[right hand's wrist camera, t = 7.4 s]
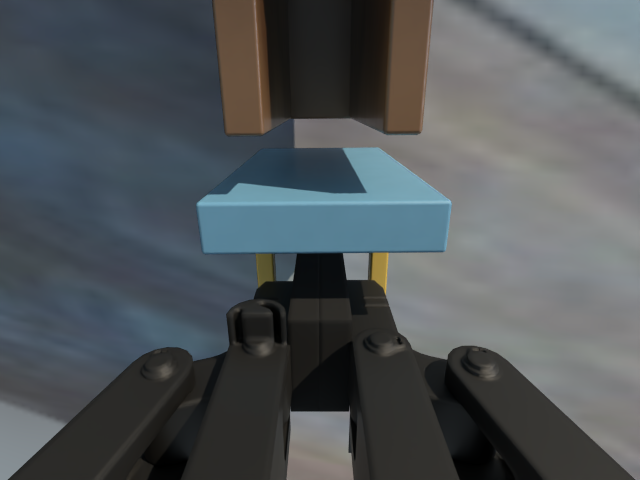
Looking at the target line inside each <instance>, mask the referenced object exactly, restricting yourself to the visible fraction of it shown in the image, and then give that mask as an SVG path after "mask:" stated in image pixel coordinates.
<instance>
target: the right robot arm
mask: <svg viewBox="0 0 640 480" xmlns="http://www.w3.org/2000/svg"><path fill="white" fill-rule="evenodd" d="M226 316H227V325H228V334H229V343H230V346H229V348H228V351H227V352H225V353H222V354H220V355H218V356H214V357H211V358H206V359H202V360H197V361H193V360H192V356H191V355H190V353H189V352H188V351H186V350H184V349H181V348H174V347H166V348H161V349H157V350H153V351H151V352H149V353H146V354H144V355H142V356H141V357H140V358H138V359H137V360H135V361H134V362H133V363H132V364H131V365H130V366H128V367H127V368H126V369H125V370H124V371H123V372H122V373H121V374H120V375H119V376H118V377H117V378H116V379H115V380H114V381H112V382H111V383H110V384H109V385H108V386H107V387H106V388H105V389H104V390H103V391H102V392H101V393H100V394H99V395H98V396H97V397H95V398H94V399H93V400H92V401H91V402H90V403H89V404H88V405H87V406H86V407H85V408H84V409H83V410H82V411H81V412H79V413H78V414H77V415H76V416H75V417H74V418H73V419H72V420H71V421H70V422H69V423H68V424H67V425H66V426H65V427H63V428H62V429H61V430H60V431H59V432H58V433H57V434H56V435H55V436H54V437H53V438H52V439H51V440H50V441H49V442H48V443H46V444H45V445H44V446H43V447H42V448H41V449H40V450H39V451H38V452H37V453H36V454H35V455H34V456H33V457H32V458H30V459H29V460H28V461H27V462H26V463H25V464H24V465H23V466H22V467H21V468H20V469H19V470H18V471H17V472H16V473H14V474H13V475H12V476H11V477H10V478H9V479H8V480H286V477H287V465H288V454H289V442H290V431H291V429H290V407H291V411H349V406H350V428H349V453H352V465H353V476H354V480H635V479H634V478H633V477H632V476H631V475H630V474H629V473H627V472H626V471H625V470H624V469H623V468H622V467H621V466H620V465H619V464H618V463H617V462H616V461H615V460H613V459H612V458H611V457H610V456H609V455H608V454H607V453H606V452H605V451H604V450H603V449H602V448H601V447H600V446H598V445H597V444H596V443H595V442H594V441H593V440H592V439H591V438H590V437H589V436H588V435H587V434H586V433H585V432H583V431H582V430H581V429H580V428H579V427H578V426H577V425H576V424H575V423H574V422H573V421H572V420H571V419H569V418H568V417H567V416H566V415H565V414H564V413H563V412H562V411H561V410H560V409H559V408H558V407H557V406H556V405H554V404H553V403H552V402H551V401H550V400H549V399H548V398H547V397H546V396H545V395H544V394H543V393H542V392H540V391H539V390H538V389H537V388H536V387H535V386H534V385H533V384H532V383H531V382H530V381H529V380H528V379H527V378H525V377H524V376H523V375H522V374H521V373H520V372H519V371H518V370H517V369H516V368H515V367H514V366H513V365H511V364H510V363H509V362H508V361H507V360H506V359H504V358H503V357H502V356H500V355H499V354H497V353H495V352H493V351H491V350H488V349H486V348H482V347H477V346H460V347H458V348H455V349H453V350H452V351H451V352H450V353H449V354H448V359H447V360H445V359H440V358H436V357H431V356H428V355H424V354H421V353H419V352H417V351H414V350H412V348H411V345H410V343H409V342H408V340H407V339H406V338H405V337H404V336H402V335H401V334H400V333H398V331H397V328H396V325H395V322H394V319H393V316H392V313H391V310H390V307H389V304H388V301H387V299H386V295H385V292H384V289H383V287H381V286H380V285H379V284H378V283H377V282H376V281H375V280H346V273H345V266H344V259H343V253H297V258H296V265H295V272H294V279H293V281H266V282H264V283H263V284H262V285H261V286H260V287H259V288H258V289H257V290H256V293H255V296H254V300H248V301H245V302H241V303H239V304H237V305H235V306H234V307H232V308H231V309H230V310H229V311H228V313H227V314H226Z"/></svg>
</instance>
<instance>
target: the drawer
mask: <svg viewBox="0 0 640 480" xmlns="http://www.w3.org/2000/svg"><path fill="white" fill-rule="evenodd" d="M433 2H434V0H212V5H213V16H214V26H215V36H216V47H217V57H218V68H219V78H220V89H221V99H222V109H223V120H224V130H225V134H226V135H227V136H262V135H264V134H266V133H267V132H269V131H271V130H272V129H274V128H276V127H277V126H279V125H281V124H282V123H284V122H286V121H287V120H289V119H326V118H352V119H354V120H356V121H358V122H360V123H362V124H365V125H367V126H369V127H371V128H373V129H375V130H377V131H380V132H382V133H384V134H386V135H418V134H420V133H421V131H422V125H423V114H424V103H425V92H426V80H427V69H428V58H429V47H430V36H431V24H432V13H433ZM451 205H452V203H451V201H450V200H449V199H448V198H446V197H445V196H443V195H442V194H441V193H439V192H438V191H437V190H435V189H434V188H433V187H431V186H430V185H429V184H427V183H426V182H424V181H423V180H422V179H420V178H419V177H418V176H416V175H415V174H414V173H412V172H411V171H410V170H408V169H407V168H405V167H404V166H403V165H401V164H400V163H399V162H397V161H396V160H395V159H393V158H392V157H391V156H389V155H388V154H387V153H385V152H384V151H382V150H381V149H380V148H267V149H261V150H260V151H258V152H257V153H256V154H255V155H254V156H252V157H251V158H250V159H249V160H248V161H246V162H245V163H244V164H243V165H242V166H240V167H239V168H238V169H237V170H236V171H234V172H233V173H232V174H231V175H230V176H229V177H227V178H226V179H225V180H224V181H223V182H221V183H220V184H219V185H218V186H217V187H215V188H214V189H213V190H212V191H211V192H209V193H208V194H207V195H206V196H205V197H203V198H202V199H201V200H200V201H199V202H197V204H196V210H197V218H198V225H199V233H200V241H201V248H202V252H203V254H256V264H257V277H258V288H259V287H260V286H261V285H262V284H263V283H264V282H266V281H276V267H275V254H290V253H369V267H368V280H375V281H376V282H377V283H378V284H379V285H380V286H381V287H383V289H384V292H385V295H386V282H387V267H388V253H402V252H445V250H446V245H447V237H448V229H449V221H450V213H451Z"/></svg>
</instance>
